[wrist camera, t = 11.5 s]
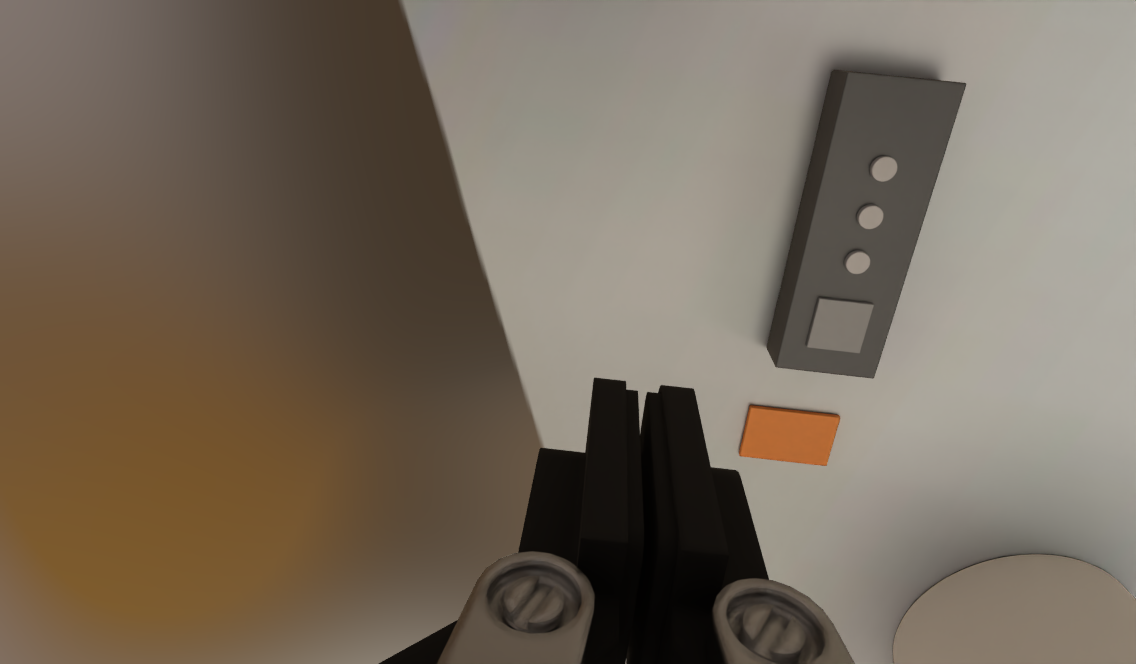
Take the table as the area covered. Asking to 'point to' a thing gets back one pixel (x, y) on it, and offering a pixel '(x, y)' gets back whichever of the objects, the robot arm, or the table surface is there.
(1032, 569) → the canister
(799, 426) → the tiles
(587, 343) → the table surface
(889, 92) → the remote
